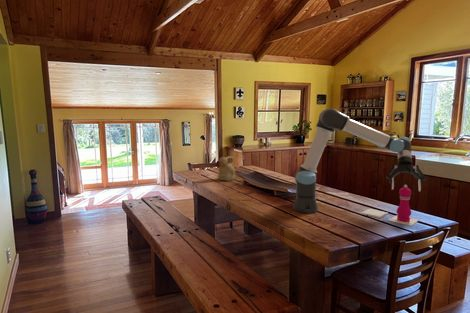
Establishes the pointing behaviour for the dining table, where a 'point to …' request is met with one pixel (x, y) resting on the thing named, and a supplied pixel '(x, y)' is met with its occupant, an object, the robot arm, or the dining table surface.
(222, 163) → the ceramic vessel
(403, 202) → the pepper mill
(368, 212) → the pad
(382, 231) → the dining table surface
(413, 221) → the tile
